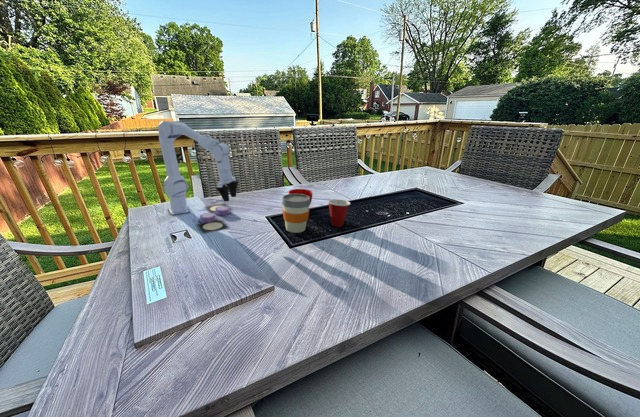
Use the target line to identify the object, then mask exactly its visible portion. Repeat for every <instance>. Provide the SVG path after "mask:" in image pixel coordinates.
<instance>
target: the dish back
mask: <svg viewBox="0 0 640 417" xmlns="http://www.w3.org/2000/svg"><path fill="white" fill-rule="evenodd" d="M230 209H231V207H230V206H228V205H226V206H220V207H217V208H215V211H216V212H215V215H216V216H228V215H229V214H231V210H230Z"/></svg>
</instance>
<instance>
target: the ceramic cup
mask: <svg viewBox="0 0 640 417" xmlns="http://www.w3.org/2000/svg"><path fill="white" fill-rule="evenodd" d="M288 194H304V195H307V196H309V197H310V205H309V207H310V206H311V204H312V201H313V191H312V190H309V189H306V188H305V189H304V188H295V189H290V190H288Z"/></svg>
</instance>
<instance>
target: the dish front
mask: <svg viewBox="0 0 640 417" xmlns="http://www.w3.org/2000/svg"><path fill="white" fill-rule="evenodd" d="M215 221H217V214H216V213H215V212H213V213H211V212H205V213H202V214H200V215H199V222H200V223H201V224H204V223H211V222H215Z"/></svg>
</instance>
